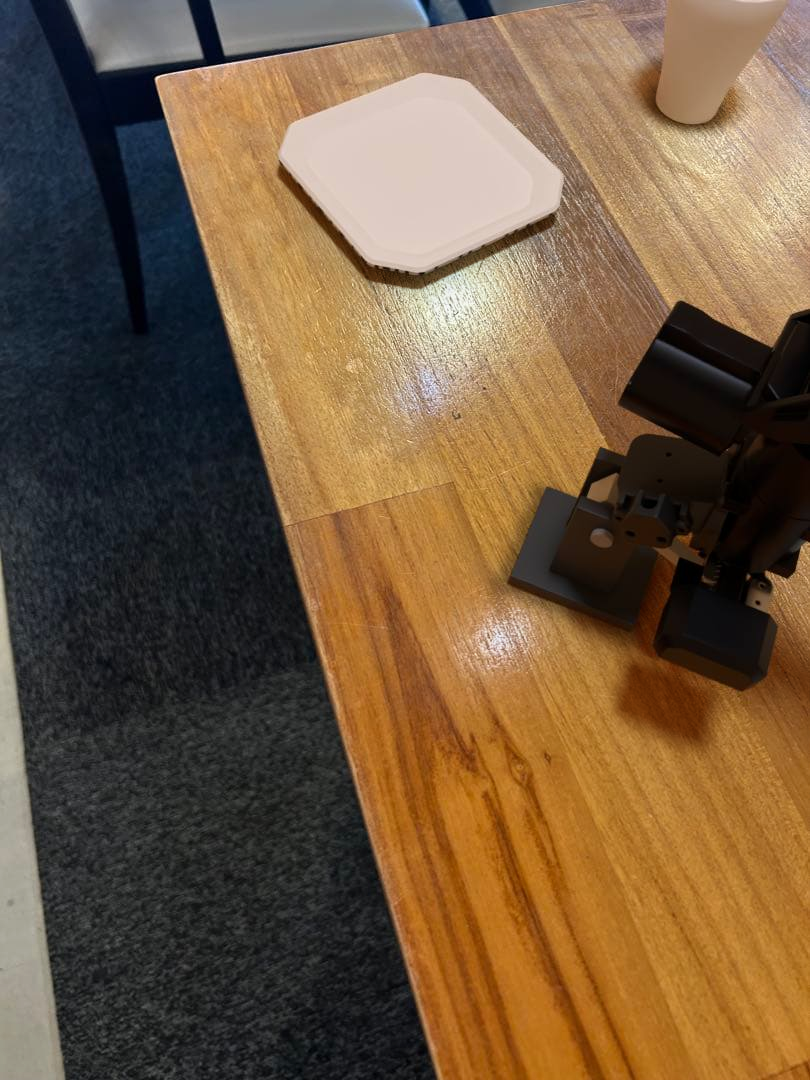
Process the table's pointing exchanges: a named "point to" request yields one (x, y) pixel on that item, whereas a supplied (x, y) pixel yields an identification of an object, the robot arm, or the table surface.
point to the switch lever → (608, 495)
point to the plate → (420, 173)
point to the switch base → (585, 553)
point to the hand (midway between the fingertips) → (693, 593)
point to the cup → (709, 52)
